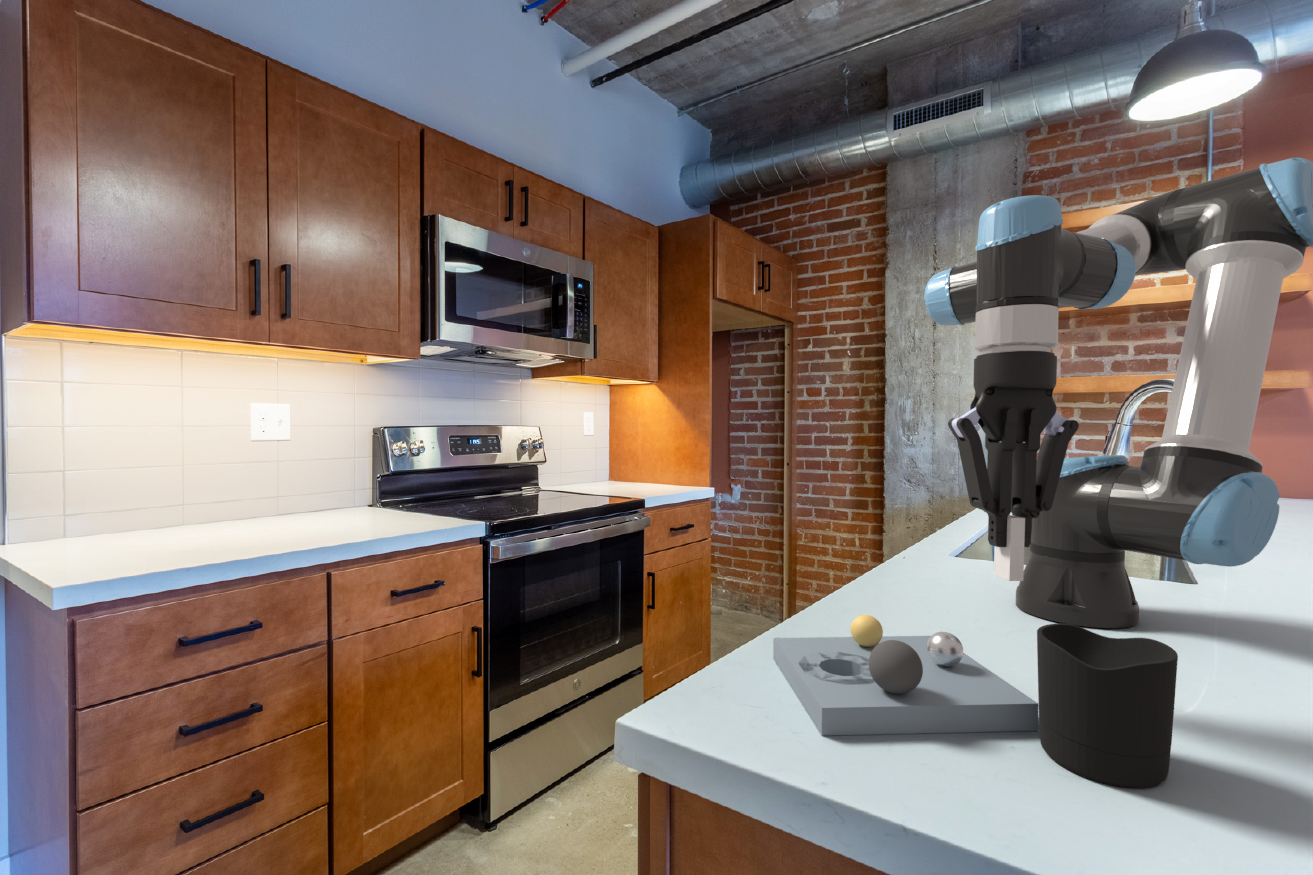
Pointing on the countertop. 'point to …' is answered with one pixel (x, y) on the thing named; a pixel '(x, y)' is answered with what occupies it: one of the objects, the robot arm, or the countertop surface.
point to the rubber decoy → (895, 667)
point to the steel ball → (945, 649)
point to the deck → (856, 705)
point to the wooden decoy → (866, 630)
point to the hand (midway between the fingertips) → (1008, 577)
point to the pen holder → (1106, 704)
